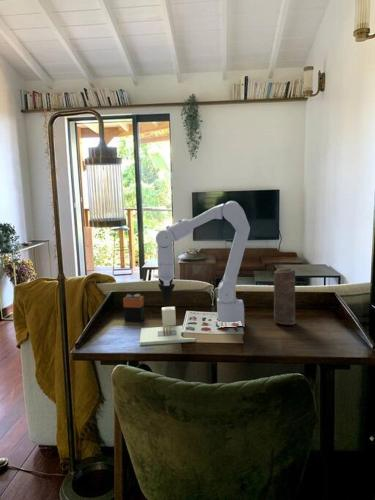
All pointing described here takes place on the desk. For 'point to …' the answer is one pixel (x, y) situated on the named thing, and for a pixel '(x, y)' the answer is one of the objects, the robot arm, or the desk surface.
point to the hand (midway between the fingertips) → (166, 299)
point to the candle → (284, 296)
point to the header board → (162, 335)
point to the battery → (133, 308)
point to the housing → (168, 316)
